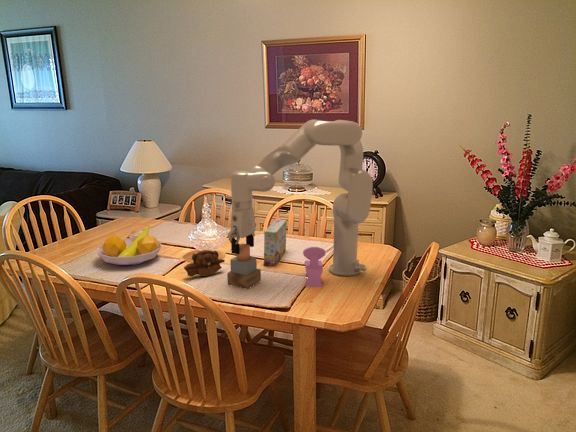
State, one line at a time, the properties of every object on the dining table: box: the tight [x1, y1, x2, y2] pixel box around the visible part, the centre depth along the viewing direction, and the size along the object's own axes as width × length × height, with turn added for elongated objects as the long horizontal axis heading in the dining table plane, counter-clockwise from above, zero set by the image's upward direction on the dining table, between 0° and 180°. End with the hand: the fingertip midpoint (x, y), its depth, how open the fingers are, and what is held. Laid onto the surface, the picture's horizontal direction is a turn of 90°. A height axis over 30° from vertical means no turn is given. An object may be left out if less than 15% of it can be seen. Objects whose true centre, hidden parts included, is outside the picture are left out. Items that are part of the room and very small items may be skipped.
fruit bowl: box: [96, 225, 162, 266], centre depth 204 cm, size 28×27×11 cm
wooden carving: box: [183, 249, 225, 278], centre depth 186 cm, size 16×5×10 cm, turn 126°
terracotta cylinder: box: [236, 243, 251, 261], centre depth 177 cm, size 5×5×5 cm
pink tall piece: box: [302, 246, 326, 288], centre depth 180 cm, size 8×9×15 cm
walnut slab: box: [226, 268, 262, 290], centre depth 180 cm, size 9×9×5 cm
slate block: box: [229, 255, 258, 276], centre depth 179 cm, size 7×7×5 cm
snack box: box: [263, 218, 288, 267], centre depth 206 cm, size 21×6×15 cm, turn 168°
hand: (242, 249), depth 178 cm, fingers open, 9 cm apart
